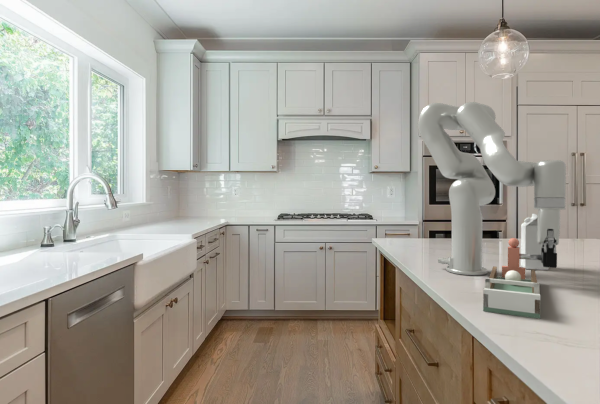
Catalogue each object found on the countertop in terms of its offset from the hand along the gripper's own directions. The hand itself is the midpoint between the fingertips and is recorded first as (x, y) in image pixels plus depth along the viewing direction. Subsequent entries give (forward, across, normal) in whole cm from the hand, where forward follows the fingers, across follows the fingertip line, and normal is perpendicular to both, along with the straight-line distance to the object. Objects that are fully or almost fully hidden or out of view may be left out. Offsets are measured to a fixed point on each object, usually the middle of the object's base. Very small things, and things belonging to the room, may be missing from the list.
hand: (548, 264), depth 110 cm
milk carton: (+6, -28, -3) cm, 29 cm away
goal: (+5, +31, -9) cm, 33 cm away
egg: (+3, +8, -9) cm, 12 cm away
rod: (+5, 0, -5) cm, 7 cm away
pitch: (+6, +16, -9) cm, 19 cm away
